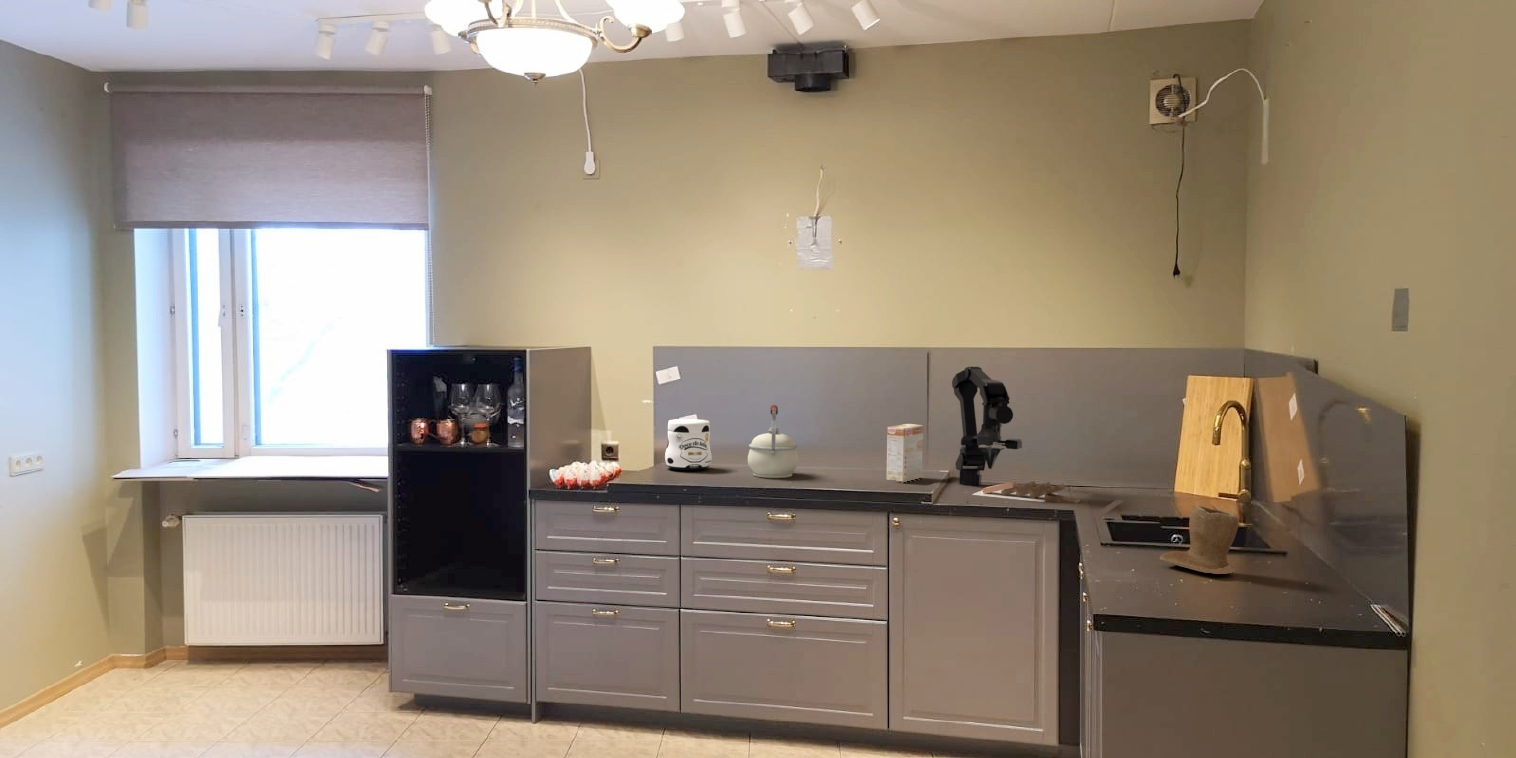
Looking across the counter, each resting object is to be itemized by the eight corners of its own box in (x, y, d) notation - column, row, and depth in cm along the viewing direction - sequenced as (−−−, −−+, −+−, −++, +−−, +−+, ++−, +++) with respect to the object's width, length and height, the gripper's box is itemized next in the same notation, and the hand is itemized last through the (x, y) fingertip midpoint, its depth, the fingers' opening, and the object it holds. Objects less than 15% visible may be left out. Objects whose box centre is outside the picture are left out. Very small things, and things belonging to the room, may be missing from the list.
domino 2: (1001, 491, 342) (1030, 482, 337) (1005, 489, 346) (1034, 480, 341) (1002, 495, 342) (1032, 487, 337) (1007, 493, 346) (1036, 485, 341)
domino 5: (1044, 494, 335) (1076, 502, 330) (1048, 492, 339) (1080, 499, 334) (1044, 499, 335) (1075, 507, 330) (1048, 497, 339) (1079, 504, 334)
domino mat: (971, 498, 343) (971, 494, 343) (989, 490, 359) (989, 487, 359) (1043, 505, 332) (1043, 501, 332) (1057, 497, 347) (1058, 494, 347)
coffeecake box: (905, 476, 387) (906, 423, 386) (922, 479, 383) (924, 424, 382) (885, 481, 375) (886, 426, 374) (903, 483, 371) (904, 427, 370)
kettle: (798, 480, 374) (800, 409, 372) (746, 479, 374) (747, 408, 372) (797, 470, 399) (798, 403, 397) (748, 469, 399) (749, 402, 397)
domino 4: (1029, 493, 337) (1059, 485, 332) (1033, 491, 342) (1063, 483, 337) (1031, 498, 337) (1061, 490, 332) (1035, 496, 341) (1065, 488, 336)
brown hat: (1248, 575, 244) (1251, 510, 243) (1214, 581, 238) (1217, 514, 237) (1191, 561, 257) (1193, 500, 256) (1158, 566, 251) (1160, 503, 250)
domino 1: (982, 489, 345) (1011, 482, 340) (987, 487, 349) (1016, 480, 344) (983, 493, 345) (1012, 487, 340) (988, 491, 349) (1017, 485, 344)
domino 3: (1015, 492, 339) (1045, 483, 335) (1020, 490, 344) (1049, 481, 339) (1017, 497, 339) (1047, 488, 334) (1021, 495, 344) (1051, 486, 339)
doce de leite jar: (693, 474, 384) (693, 424, 383) (655, 469, 393) (655, 421, 392) (720, 468, 399) (721, 420, 398) (683, 464, 408) (684, 417, 407)
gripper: (955, 420, 343) (954, 469, 343) (1013, 424, 333) (1011, 474, 334) (967, 418, 352) (965, 465, 353) (1023, 422, 343) (1021, 470, 344)
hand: (990, 468), depth 346 cm, fingers closed
